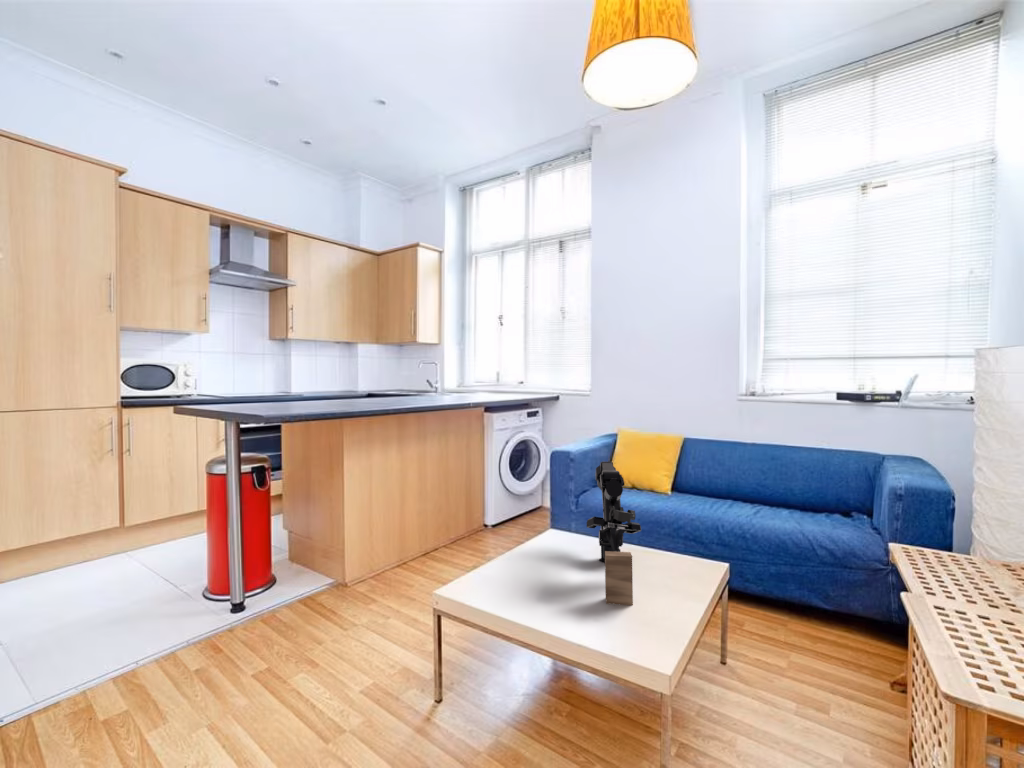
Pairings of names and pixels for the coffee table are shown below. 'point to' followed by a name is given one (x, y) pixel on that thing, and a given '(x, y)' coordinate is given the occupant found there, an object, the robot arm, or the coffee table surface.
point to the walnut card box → (618, 578)
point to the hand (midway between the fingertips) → (615, 551)
